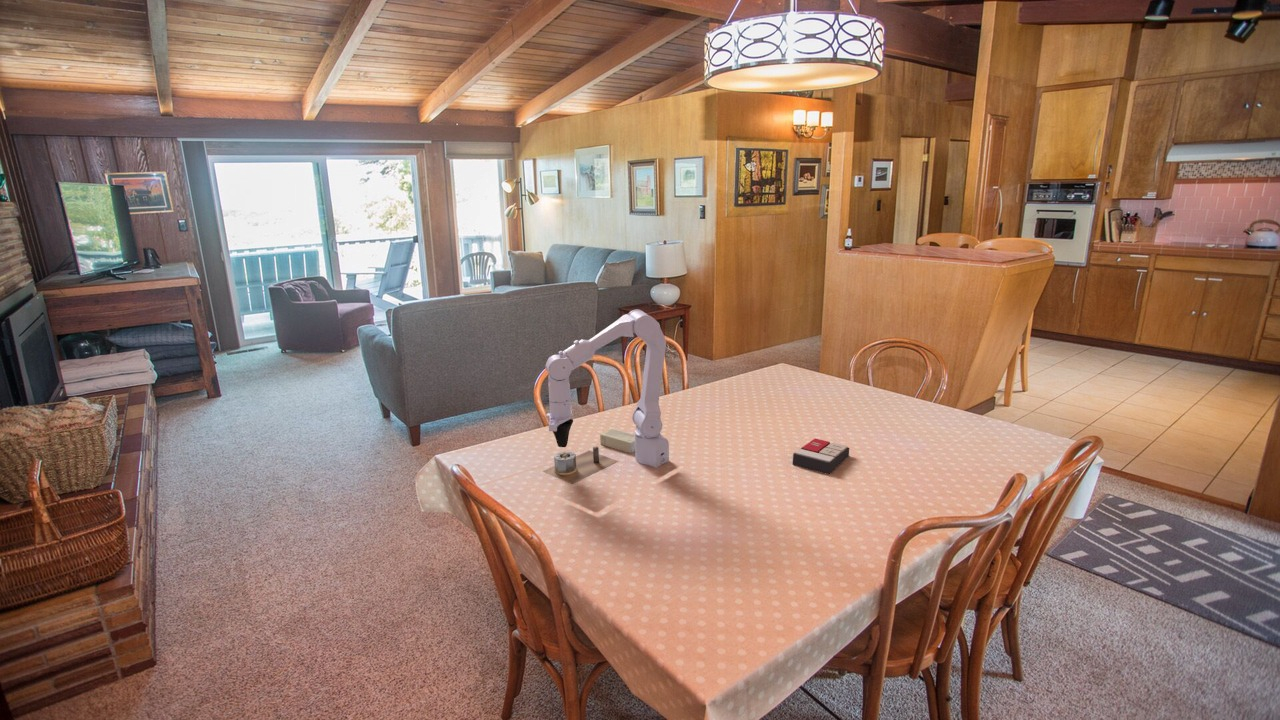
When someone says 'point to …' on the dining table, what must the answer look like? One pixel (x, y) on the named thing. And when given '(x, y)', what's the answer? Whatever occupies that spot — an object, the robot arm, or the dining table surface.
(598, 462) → the board
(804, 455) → the calculator
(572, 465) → the collar
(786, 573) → the dining table surface
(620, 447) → the skincare box
